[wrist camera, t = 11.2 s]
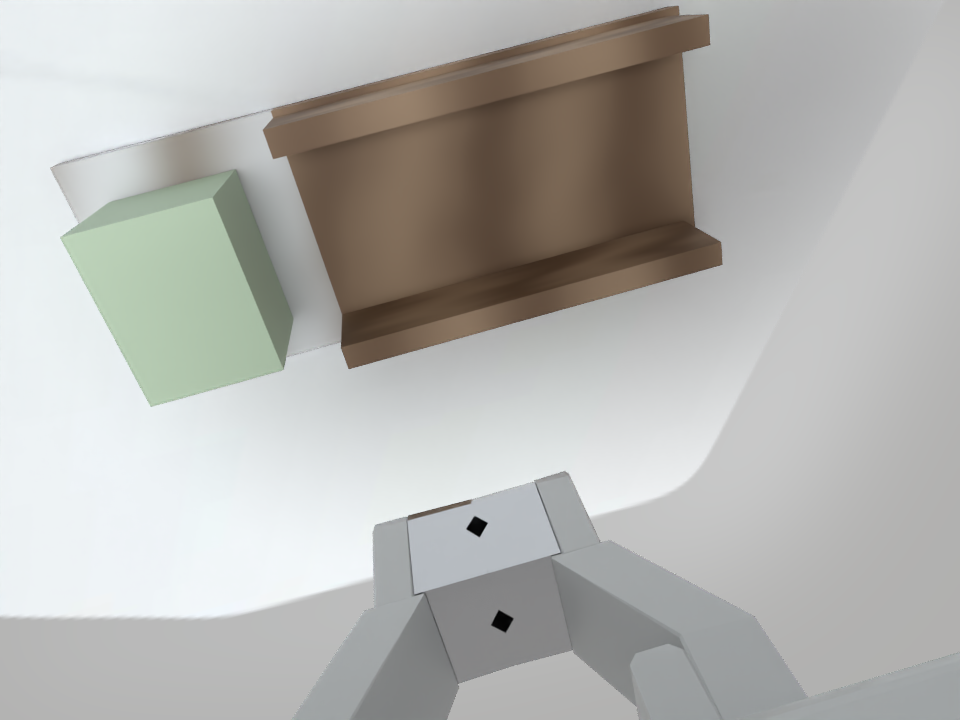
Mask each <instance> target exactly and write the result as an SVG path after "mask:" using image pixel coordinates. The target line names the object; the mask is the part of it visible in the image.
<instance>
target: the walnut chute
mask: <svg viewBox="0 0 960 720" xmlns="http://www.w3.org/2000/svg"><path fill="white" fill-rule="evenodd" d="M708 45H710V32H709V14H706V15H680V16H679V6H671V7H665V8H661V9H657V10H653V11H649V12H646V13H642V14H638V15H634V16H630V17H626V18H622V19H618V20H614V21H611V22H607V23H603V24H599V25H595V26H591V27H587V28H583V29H580V30H576V31H572V32H568V33H564V34H560V35H556V36H552V37H549V38H545V39H541V40H537V41H533V42H529V43H525V44H521V45H517V46H514V47H510V48H506V49H502V50H498V51H494V52H490V53H486V54H483V55H479V56H475V57H471V58H467V59H463V60H459V61H455V62H452V63H448V64H444V65H440V66H436V67H432V68H428V69H424V70H420V71H417V72H413V73H409V74H405V75H401V76H397V77H393V78H389V79H386V80H382V81H378V82H374V83H370V84H366V85H362V86H358V87H354V88H351V89H347V90H343V91H339V92H335V93H331V94H327V95H323V96H320V97H316V98H312V99H308V100H304V101H300V102H296V103H292V104H289V105H285V106H281V107H277V108H273V109H269V110H265V111H261V112H257V113H254V114H250V115H246V116H242V117H238V118H234V119H230V120H226V121H223V122H219V123H215V124H211V125H207V126H203V127H199V128H195V129H192V130H188V131H184V132H180V133H176V134H172V135H168V136H164V137H160V138H157V139H153V140H149V141H145V142H141V143H137V144H133V145H129V146H126V147H122V148H118V149H114V150H110V151H106V152H102V153H98V154H95V155H91V156H87V157H83V158H79V159H75V160H71V161H67V162H63V163H60V164H58V165H56V166H53V167H51V168H50V169H51V171H52V173H53V175H54V177H55V179H56V181H57V182H58V184H59V186H60V188H61V190H62V192H63V194H64V196H65V198H66V200H67V202H68V204H69V206H70V208H71V210H72V211H73V213H74V215H75V217H76V219H77V221H78V223H79V224H80V223H81V222H82V221H84V220H85V219H87V218H88V217H89V216H91V215H92V214H94V213H95V212H96V211H98V210H99V209H100V208H102V207H103V206H105V205H106V204H107V203H109V202H112V201H116V200H120V199H123V198H127V197H131V196H135V195H139V194H143V193H146V192H150V191H154V190H158V189H162V188H165V187H169V186H173V185H177V184H181V183H185V182H188V181H192V180H196V179H200V178H204V177H208V176H211V175H215V174H219V173H223V172H227V171H230V170H234V169H236V172H237V174H238V177H239V179H240V182H241V185H242V187H243V190H244V192H245V195H246V197H247V200H248V203H249V205H250V208H251V210H252V213H253V215H254V218H255V221H256V223H257V226H258V228H259V231H260V233H261V236H262V239H263V241H264V244H265V246H266V249H267V251H268V254H269V257H270V259H271V262H272V264H273V267H274V269H275V272H276V275H277V277H278V280H279V282H280V285H281V287H282V290H283V293H284V295H285V298H286V300H287V303H288V305H289V308H290V311H291V313H292V316H293V318H294V320H293V325H292V330H291V335H290V340H289V345H288V350H287V355H286V357H289V356H292V355H296V354H299V353H303V352H307V351H310V350H314V349H317V348H321V347H325V346H328V345H332V344H335V343H339V342H341V349H342V352H343V355H344V357H345V360H346V363H347V366H348V368H349V369H351V368H355V367H358V366H362V365H365V364H369V363H373V362H376V361H380V360H383V359H387V358H391V357H394V356H398V355H401V354H405V353H408V352H412V351H416V350H419V349H423V348H426V347H430V346H433V345H437V344H441V343H444V342H448V341H451V340H455V339H459V338H462V337H466V336H469V335H473V334H476V333H480V332H484V331H487V330H491V329H494V328H498V327H501V326H505V325H509V324H512V323H516V322H519V321H523V320H527V319H530V318H534V317H537V316H541V315H544V314H548V313H552V312H555V311H559V310H562V309H566V308H569V307H573V306H577V305H580V304H584V303H587V302H591V301H595V300H598V299H602V298H605V297H609V296H612V295H616V294H620V293H623V292H627V291H630V290H634V289H637V288H641V287H645V286H648V285H652V284H655V283H659V282H662V281H666V280H670V279H673V278H677V277H680V276H684V275H688V274H691V273H695V272H698V271H702V270H705V269H709V268H713V267H716V266H720V265H722V249H721V242H720V241H718V240H717V239H715V238H713V237H711V236H710V235H708V234H706V233H704V232H703V231H701V230H699V229H697V228H696V227H695V222H694V208H693V194H692V181H691V167H690V154H689V140H688V127H687V113H686V99H685V86H684V72H683V59H682V52H686V51H689V50H693V49H697V48H701V47H705V46H708Z"/></svg>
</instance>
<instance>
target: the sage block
mask: <svg viewBox="0 0 960 720" xmlns="http://www.w3.org/2000/svg"><path fill="white" fill-rule="evenodd" d="M60 238H61V240H62V242H63V244H64V246H65V248H66V249H67V251H68V253H69V255H70V257H71V259H72V261H73V263H74V264H75V266H76V268H77V270H78V272H79V274H80V276H81V277H82V279H83V281H84V283H85V285H86V287H87V289H88V290H89V292H90V294H91V296H92V298H93V300H94V302H95V304H96V305H97V307H98V309H99V311H100V313H101V315H102V317H103V318H104V320H105V322H106V324H107V326H108V328H109V330H110V332H111V333H112V335H113V337H114V339H115V341H116V343H117V345H118V346H119V348H120V350H121V352H122V354H123V356H124V358H125V360H126V361H127V363H128V365H129V367H130V369H131V371H132V373H133V374H134V376H135V378H136V380H137V382H138V384H139V386H140V388H141V389H142V391H143V393H144V395H145V397H146V399H147V401H148V402H149V404H150V406H151V407H152V406H156V405H159V404H163V403H167V402H170V401H174V400H177V399H181V398H184V397H188V396H192V395H195V394H199V393H202V392H206V391H210V390H213V389H217V388H220V387H224V386H228V385H231V384H235V383H238V382H242V381H246V380H249V379H253V378H256V377H260V376H264V375H267V374H271V373H274V372H278V371H282V370H284V365H285V360H286V355H287V350H288V345H289V340H290V335H291V330H292V325H293V320H294V318H293V316H292V313H291V311H290V308H289V305H288V303H287V300H286V298H285V295H284V293H283V290H282V287H281V285H280V282H279V280H278V277H277V275H276V272H275V269H274V267H273V264H272V262H271V259H270V257H269V254H268V251H267V249H266V246H265V244H264V241H263V239H262V236H261V233H260V231H259V228H258V226H257V223H256V221H255V218H254V215H253V213H252V210H251V208H250V205H249V203H248V200H247V197H246V195H245V192H244V190H243V187H242V185H241V182H240V179H239V177H238V174H237V172H236V169H234V170H230V171H227V172H223V173H219V174H215V175H211V176H208V177H204V178H200V179H196V180H192V181H188V182H185V183H181V184H177V185H173V186H169V187H165V188H162V189H158V190H154V191H150V192H146V193H143V194H139V195H135V196H131V197H127V198H123V199H120V200H116V201H112V202H109V203H107V204H106V205H105V206H103V207H102V208H100V209H99V210H98V211H96V212H95V213H94V214H92V215H91V216H89V217H88V218H87V219H85V220H84V221H82V222H81V223H80V224H78V225H77V226H75V227H74V228H73V229H71V230H70V231H69V232H67V233H66V234H64V235H63V236H62V237H60Z"/></svg>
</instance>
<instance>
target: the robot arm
mask: <svg viewBox="0 0 960 720" xmlns="http://www.w3.org/2000/svg"><path fill="white" fill-rule="evenodd" d="M373 572H374V608H371V609H368V610H365V611H364V612H363V613H362V615H361V616H360V618H359V619H358V621H357V622H356V624H355V625H354V627H353V628H352V630H351V631H350V633H349V634H348V636H347V637H346V639H345V640H344V642H343V643H342V645H341V646H340V648H339V649H338V651H337V652H336V654H335V655H334V657H333V658H332V660H331V661H330V663H329V664H328V666H327V667H326V669H325V670H324V672H323V673H322V675H321V676H320V678H319V679H318V681H317V682H316V684H315V685H314V687H313V688H312V690H311V691H310V693H309V694H308V696H307V697H306V699H305V700H304V702H303V703H302V705H301V706H300V708H299V709H298V711H297V712H296V714H295V715H294V717H293V718H292V720H447V718H448V715H449V712H450V710H451V707H452V704H453V702H454V699H455V697H456V694H457V691H458V689H459V686H458V684H459V683H462V682H465V681H468V680H471V679H474V678H477V677H480V676H483V675H486V674H490V673H493V672H496V671H499V670H502V669H505V668H508V667H511V666H514V665H518V664H521V663H526V662H529V661H533V660H537V659H540V658H545V657H549V656H552V655H556V654H560V653H564V652H568V651H571V650H573V652H574V654H576V655H577V656H578V657H579V658H580V659H581V660H583V661H584V662H585V663H586V664H587V665H588V666H590V667H591V668H592V669H593V670H594V671H595V672H597V673H598V674H599V675H600V676H601V677H602V678H604V679H605V680H606V681H607V682H608V683H609V684H611V685H612V686H613V687H614V688H615V689H616V690H618V691H619V692H620V693H621V694H623V695H624V696H625V697H626V698H627V699H628V700H629V701H631V702H632V703H633V704H634V705H635V706H636V707H637V711H638V716H639V720H960V652H959V653H956V654H952V655H949V656H945V657H942V658H939V659H935V660H932V661H928V662H925V663H922V664H918V665H916V666H912V667H909V668H905V669H902V670H899V671H895V672H892V673H888V674H886V675H882V676H878V677H875V678H872V679H869V680H865V681H862V682H858V683H855V684H852V685H848V686H845V687H841V688H838V689H835V690H831V691H829V692H825V693H822V694H818V695H815V696H811V697H808V696H807V695H806V694H805V692H804V690H803V689H802V687H801V686H800V684H799V683H798V681H797V680H796V678H795V677H794V675H793V674H792V672H791V671H790V669H789V668H788V666H787V665H786V663H785V662H784V660H783V659H782V657H781V656H780V654H779V652H778V651H777V649H776V648H775V647H774V645H773V643H772V642H771V640H770V639H769V637H768V636H767V634H766V633H765V631H764V630H763V628H762V627H761V625H760V624H759V622H758V621H757V619H756V618H755V616H753V615H751V614H749V613H748V612H746V611H744V610H742V609H740V608H738V607H736V606H734V605H732V604H730V603H729V602H727V601H725V600H723V599H721V598H719V597H717V596H715V595H714V594H712V593H709V592H708V591H706V590H704V589H702V588H700V587H698V586H696V585H695V584H693V583H691V582H689V581H687V580H685V579H683V578H681V577H680V576H678V575H676V574H674V573H672V572H670V571H668V570H666V569H664V568H663V567H661V566H659V565H657V564H655V563H653V562H651V561H649V560H647V559H646V558H644V557H642V556H640V555H638V554H636V553H634V552H632V551H630V550H628V549H626V548H625V547H623V546H621V545H619V544H617V543H615V542H613V541H612V540H608V541H605V542H600V540H599V538H598V536H597V533H596V531H595V529H594V527H593V525H592V523H591V520H590V518H589V516H588V514H587V512H586V510H585V508H584V505H583V503H582V501H581V499H580V497H579V495H578V492H577V490H576V488H575V486H574V484H573V482H572V480H571V477H570V475H569V474H568V473H567V472H565V471H564V472H560V473H557V474H554V475H551V476H547V477H544V478H541V479H538V480H534V482H531V483H527V484H524V485H520V486H517V487H514V488H510V489H507V490H503V491H500V492H496V493H493V494H489V495H486V496H482V497H479V498H475V499H472V500H467V501H463V502H459V503H455V504H451V505H448V506H444V507H440V508H436V509H432V510H428V511H424V512H421V513H417V514H413V515H409V516H408V517H403V518H399V519H395V520H392V521H388V522H384V523H380V524H377V525H375V527H374V530H373Z"/></svg>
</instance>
